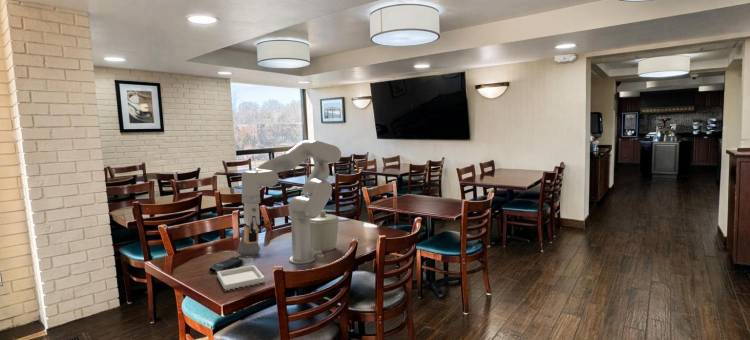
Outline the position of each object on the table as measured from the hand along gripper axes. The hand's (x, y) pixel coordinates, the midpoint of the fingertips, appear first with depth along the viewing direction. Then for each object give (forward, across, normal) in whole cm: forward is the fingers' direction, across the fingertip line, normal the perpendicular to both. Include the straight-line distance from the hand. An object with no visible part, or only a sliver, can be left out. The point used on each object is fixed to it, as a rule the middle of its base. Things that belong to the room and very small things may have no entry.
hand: (251, 239), depth 177 cm
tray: (+17, -2, +5) cm, 17 cm away
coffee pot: (+16, +34, -11) cm, 39 cm away
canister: (+15, +20, -43) cm, 49 cm away
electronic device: (+17, +17, +8) cm, 26 cm away
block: (+1, 0, 0) cm, 1 cm away
